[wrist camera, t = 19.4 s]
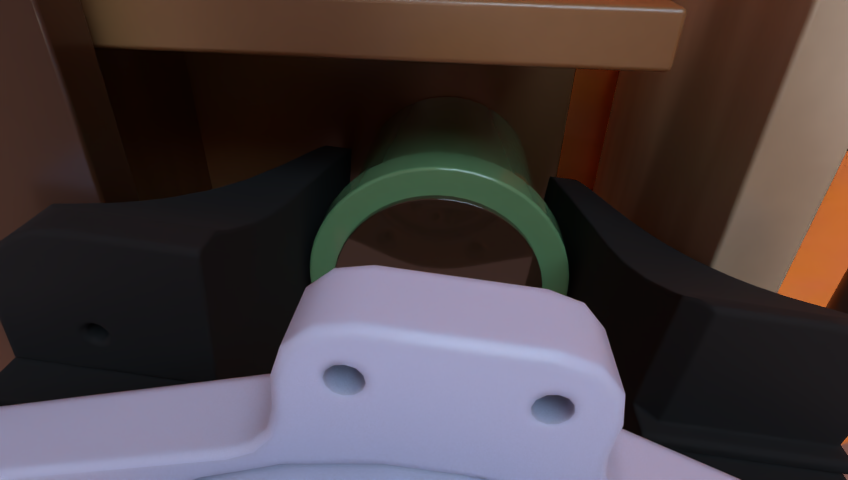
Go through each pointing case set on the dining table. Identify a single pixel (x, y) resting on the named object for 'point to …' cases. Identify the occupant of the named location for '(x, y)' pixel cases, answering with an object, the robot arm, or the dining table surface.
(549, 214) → the green pot
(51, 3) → the cabinet
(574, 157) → the dining table surface
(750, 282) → the drawer
